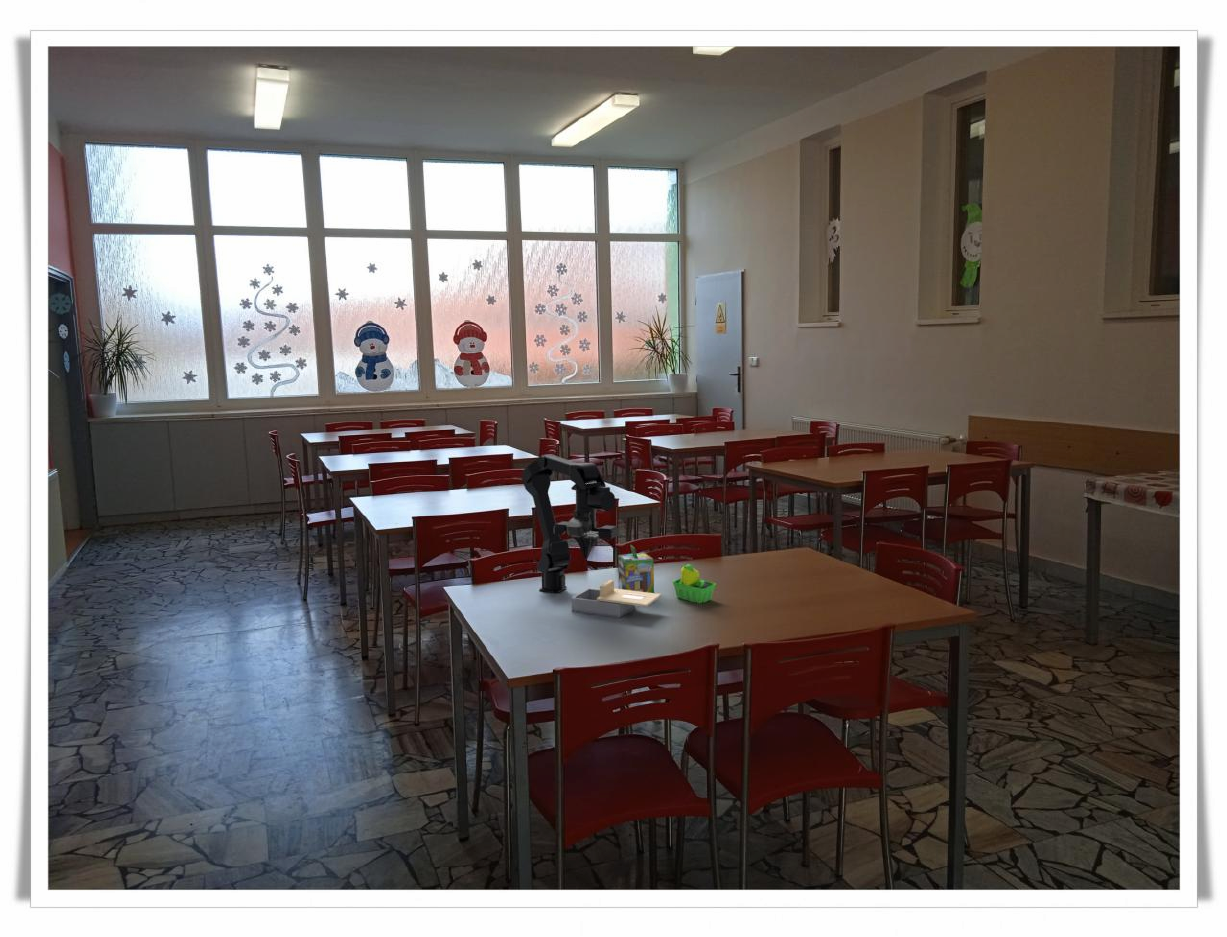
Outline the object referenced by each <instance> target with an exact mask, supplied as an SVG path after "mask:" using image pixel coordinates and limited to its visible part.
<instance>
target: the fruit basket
mask: <svg viewBox="0 0 1227 937" xmlns="http://www.w3.org/2000/svg"><path fill="white" fill-rule="evenodd" d="M680 571H681V575H680V578H678V579H674V580H673V581H672V583H673V586H674V590H675V595H676V597H677V598H678V599H681V600H686V601H689V602H692V603H693V602H694V603H696V602H697V603H696V604H700V603H701V604H703V603H706V602H708V601H711V600H712V597H713V594H714V590H715V587H716V585H717V584H716V583H715V582H710V581H707V580H703V579H699V577H700V572H699V571H698V570H697V569H695V568H694V567H693V565H691V564H686V565H683V566H682V567H681V569H680ZM702 602H703V603H702Z"/></svg>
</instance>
